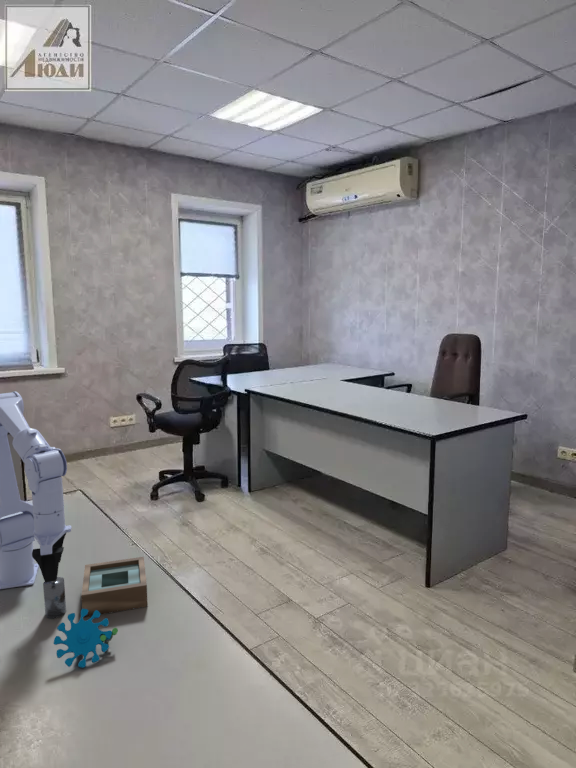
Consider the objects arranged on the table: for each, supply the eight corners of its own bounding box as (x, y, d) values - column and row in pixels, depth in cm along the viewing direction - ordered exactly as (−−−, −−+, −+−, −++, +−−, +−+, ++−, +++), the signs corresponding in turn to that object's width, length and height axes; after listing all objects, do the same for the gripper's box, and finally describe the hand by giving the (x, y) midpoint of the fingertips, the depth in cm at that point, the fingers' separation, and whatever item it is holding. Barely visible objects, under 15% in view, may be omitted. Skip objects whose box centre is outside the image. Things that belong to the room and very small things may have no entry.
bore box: (86, 585, 119) (85, 564, 119) (144, 576, 123) (143, 556, 123) (82, 617, 107) (81, 595, 106) (147, 606, 111) (146, 585, 110)
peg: (46, 609, 110) (44, 578, 109) (67, 605, 111) (65, 575, 110) (44, 620, 106) (41, 588, 105) (65, 616, 108) (63, 585, 106)
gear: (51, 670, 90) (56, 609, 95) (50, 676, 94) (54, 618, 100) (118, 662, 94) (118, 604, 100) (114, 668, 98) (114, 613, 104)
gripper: (66, 521, 100) (70, 586, 102) (72, 494, 113) (76, 552, 115) (26, 525, 97) (31, 592, 100) (37, 497, 111) (41, 556, 113)
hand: (53, 571), depth 107 cm, fingers open, 7 cm apart
